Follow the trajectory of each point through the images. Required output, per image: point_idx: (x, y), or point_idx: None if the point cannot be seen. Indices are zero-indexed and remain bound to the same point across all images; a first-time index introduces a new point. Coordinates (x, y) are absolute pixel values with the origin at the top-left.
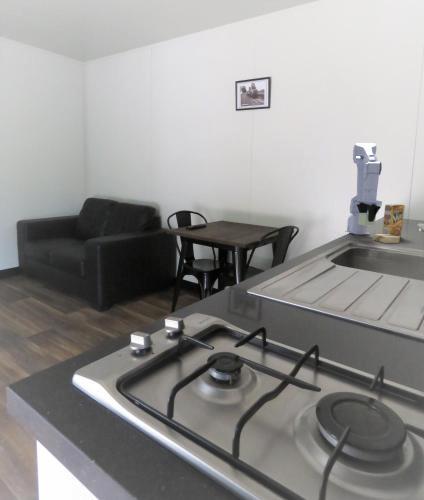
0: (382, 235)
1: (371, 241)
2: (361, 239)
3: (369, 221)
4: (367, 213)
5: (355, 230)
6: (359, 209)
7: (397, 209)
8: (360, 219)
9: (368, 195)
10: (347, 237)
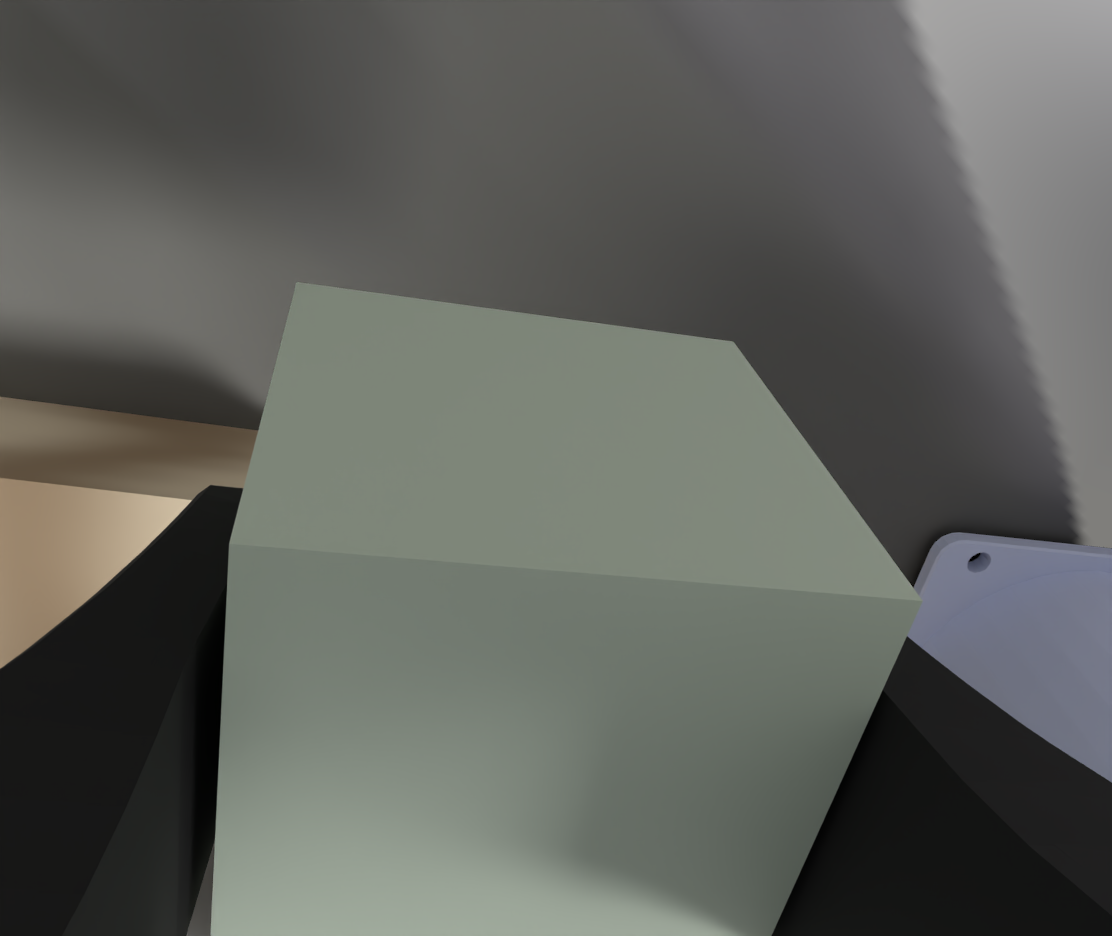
0: (87, 558)
1: (164, 238)
2: (471, 204)
3: (211, 490)
4: (525, 820)
5: (1054, 614)
6: (1093, 825)
7: None
8: (657, 412)
9: None
10: (832, 56)
